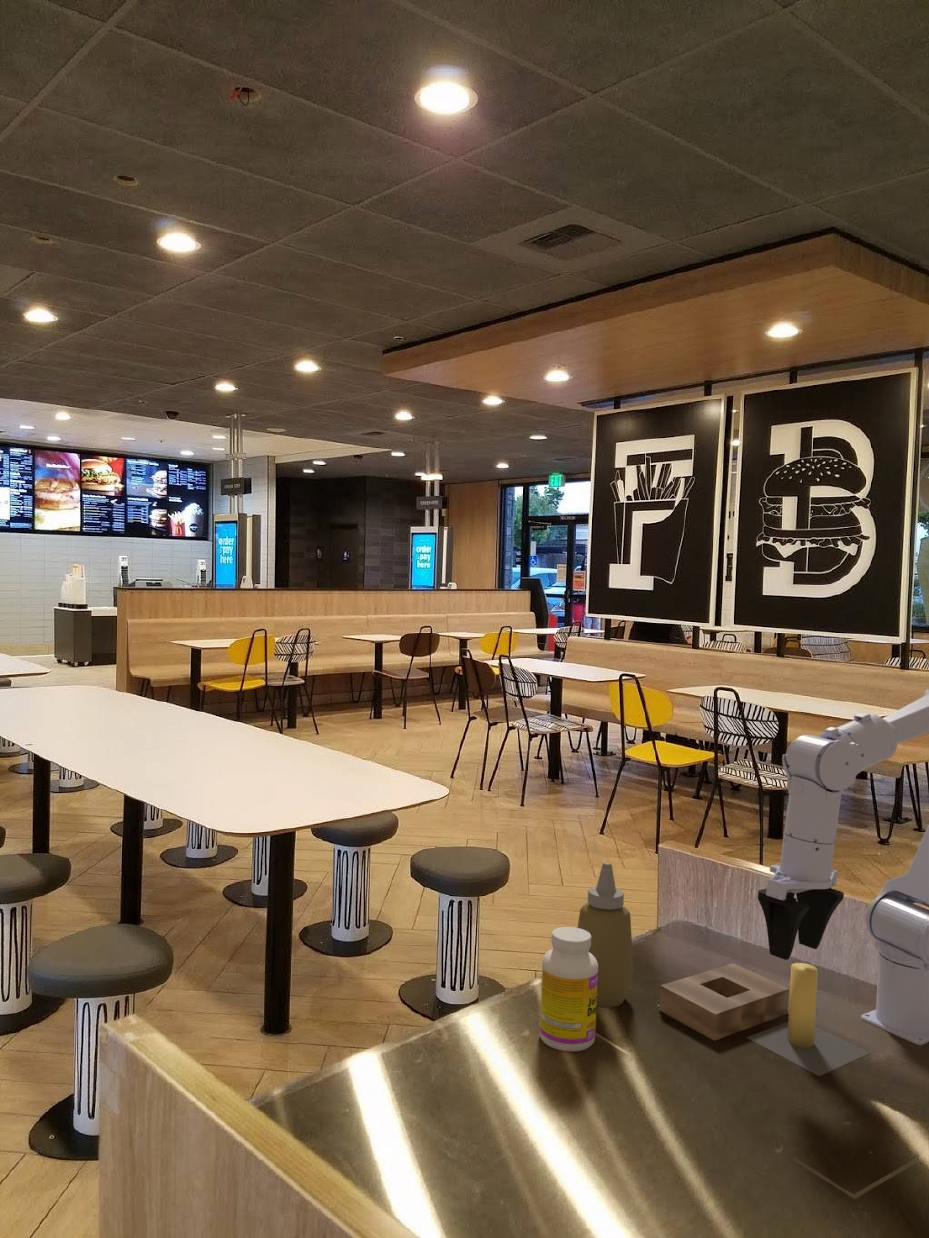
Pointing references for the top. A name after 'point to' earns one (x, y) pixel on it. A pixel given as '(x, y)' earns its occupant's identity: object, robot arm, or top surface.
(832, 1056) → the mat
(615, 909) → the squeeze bottle
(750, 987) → the walnut block
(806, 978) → the peg
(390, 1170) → the top surface
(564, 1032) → the supplement bottle
